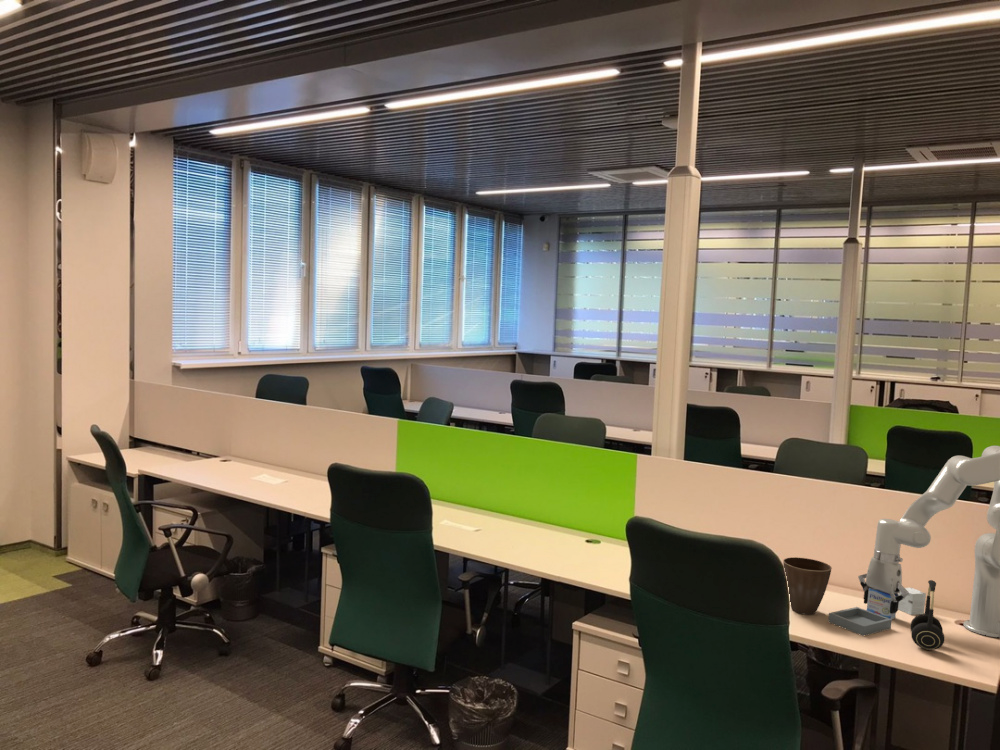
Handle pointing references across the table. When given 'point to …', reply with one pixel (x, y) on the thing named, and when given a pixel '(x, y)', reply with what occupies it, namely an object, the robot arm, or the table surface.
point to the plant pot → (806, 583)
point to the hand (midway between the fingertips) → (879, 607)
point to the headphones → (928, 625)
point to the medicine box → (879, 603)
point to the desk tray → (860, 621)
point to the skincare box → (913, 602)
